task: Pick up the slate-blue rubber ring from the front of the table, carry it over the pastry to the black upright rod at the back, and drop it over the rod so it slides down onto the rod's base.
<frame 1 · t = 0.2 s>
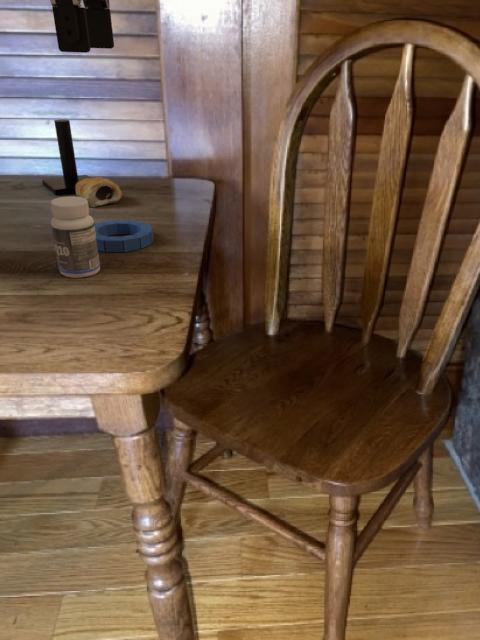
hand: (88, 49, 64), 23 cm above the table, tool pointing down, fingers open, 9 cm apart
ring: (120, 241, 78), on the table
black upright rod: (72, 187, 101), on the table
pastry: (97, 201, 94), on the table
pill bottle: (80, 272, 68), on the table
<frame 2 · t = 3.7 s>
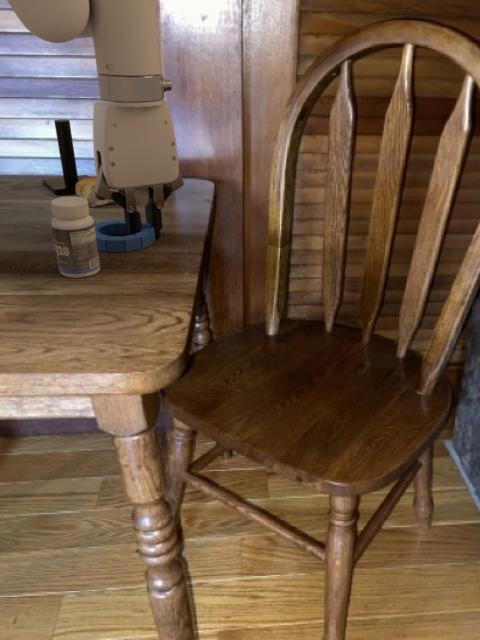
hand: (145, 235, 79), 0 cm above the table, tool pointing down, fingers closed on ring, 2 cm apart
ring: (121, 240, 78), on the table, touching gripper
everything else where it was.
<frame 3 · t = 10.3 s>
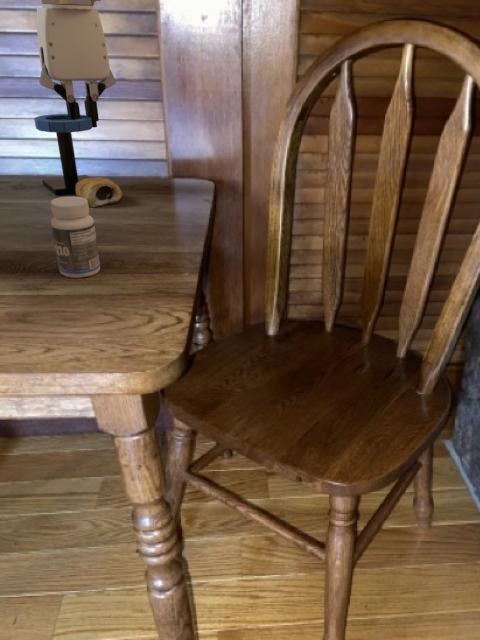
hand: (84, 125, 97), 10 cm above the table, tool pointing down, fingers closed on ring
ring: (64, 128, 96), point 10 cm above the table, touching gripper
everything else where it was.
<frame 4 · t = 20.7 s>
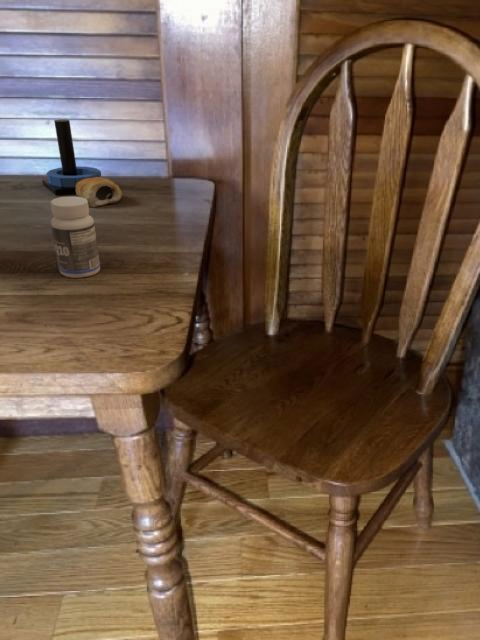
ring: (75, 181, 101), point 1 cm above the table, touching black upright rod
everything else where it was.
at the end: ring 0.7 cm from the black upright rod (horizontally); ring 0.7 cm off-centre on the black upright rod, point 1.0 cm above the black upright rod's base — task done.
